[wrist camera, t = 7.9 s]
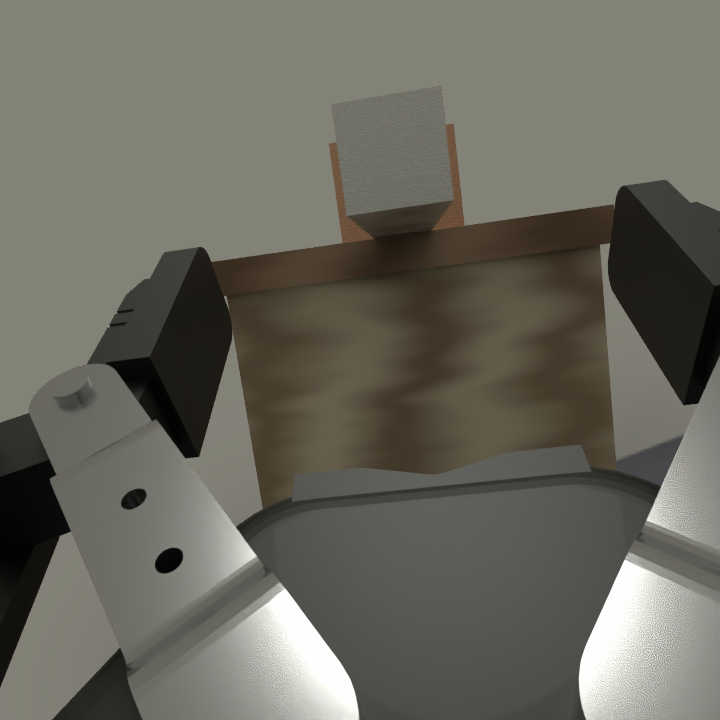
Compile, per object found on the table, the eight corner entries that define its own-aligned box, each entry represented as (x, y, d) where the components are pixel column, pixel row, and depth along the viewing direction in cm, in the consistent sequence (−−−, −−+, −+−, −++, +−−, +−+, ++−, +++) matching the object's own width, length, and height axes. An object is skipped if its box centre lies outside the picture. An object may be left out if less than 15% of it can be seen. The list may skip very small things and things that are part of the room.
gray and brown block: (454, 236, 34) (445, 148, 34) (536, 187, 13) (514, -62, 12) (354, 251, 35) (342, 164, 34) (269, 227, 13) (232, -8, 13)
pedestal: (573, 670, 43) (533, 228, 38) (661, 881, 28) (613, 204, 24) (345, 685, 45) (280, 263, 40) (315, 893, 30) (206, 262, 25)
